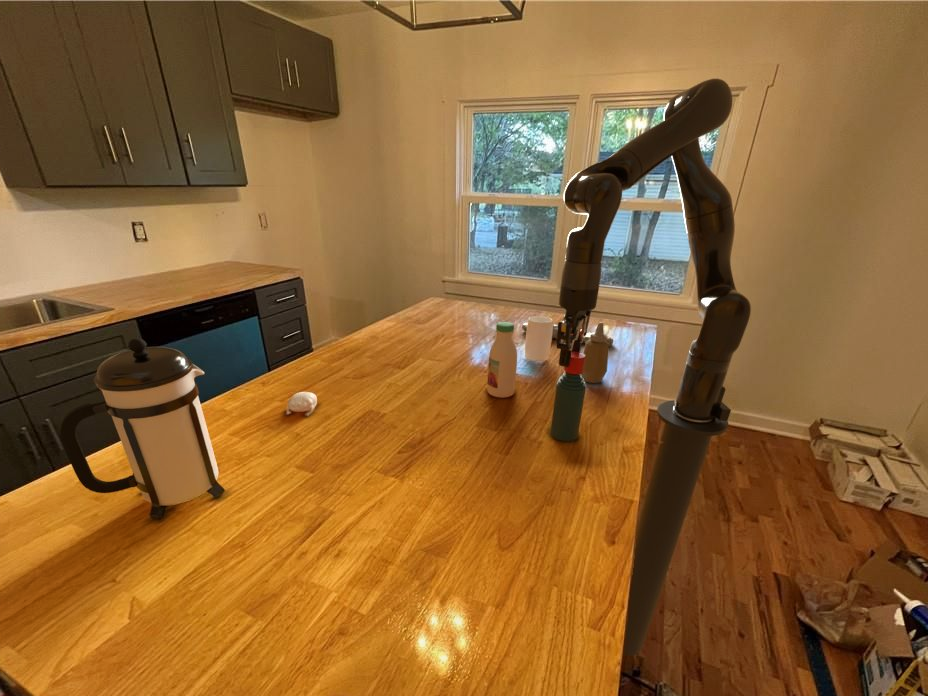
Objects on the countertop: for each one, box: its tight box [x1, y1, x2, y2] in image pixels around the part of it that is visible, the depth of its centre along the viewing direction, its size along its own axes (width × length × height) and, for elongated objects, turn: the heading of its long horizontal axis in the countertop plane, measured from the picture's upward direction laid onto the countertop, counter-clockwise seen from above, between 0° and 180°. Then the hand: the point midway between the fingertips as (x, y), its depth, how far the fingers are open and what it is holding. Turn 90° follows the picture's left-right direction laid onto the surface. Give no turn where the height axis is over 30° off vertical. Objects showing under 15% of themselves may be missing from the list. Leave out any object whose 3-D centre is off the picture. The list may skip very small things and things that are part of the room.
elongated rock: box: [521, 322, 614, 347], centre depth 162 cm, size 35×5×10 cm
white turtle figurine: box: [285, 391, 318, 416], centre depth 107 cm, size 8×7×4 cm
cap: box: [563, 351, 585, 374], centre depth 92 cm, size 4×4×4 cm
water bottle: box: [549, 371, 587, 442], centre depth 96 cm, size 6×6×20 cm
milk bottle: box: [486, 321, 518, 399], centre depth 115 cm, size 8×8×20 cm
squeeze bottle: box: [581, 321, 610, 384], centre depth 125 cm, size 8×8×18 cm
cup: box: [524, 315, 554, 362], centre depth 138 cm, size 8×8×14 cm
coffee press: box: [59, 337, 226, 520], centre depth 71 cm, size 17×16×30 cm
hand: (569, 360), depth 92 cm, fingers open, 5 cm apart
